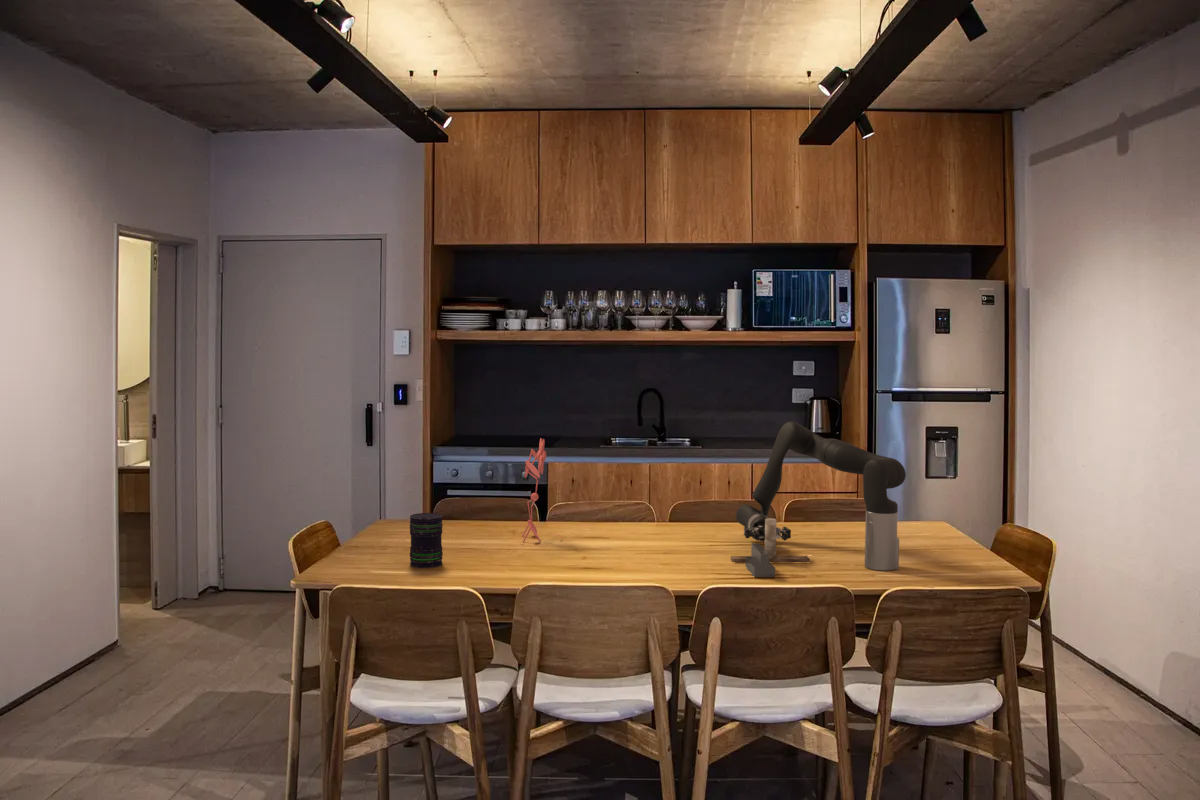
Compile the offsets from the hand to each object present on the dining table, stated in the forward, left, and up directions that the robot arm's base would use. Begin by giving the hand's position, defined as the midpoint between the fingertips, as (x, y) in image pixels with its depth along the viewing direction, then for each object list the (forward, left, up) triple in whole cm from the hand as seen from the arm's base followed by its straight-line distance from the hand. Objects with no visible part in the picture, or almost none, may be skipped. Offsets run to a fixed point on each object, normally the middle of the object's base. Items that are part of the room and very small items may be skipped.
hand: (771, 537), depth 285 cm
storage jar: (+106, +2, -8) cm, 106 cm away
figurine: (+72, -35, -8) cm, 80 cm away
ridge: (+6, +12, -8) cm, 15 cm away
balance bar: (0, -2, -8) cm, 9 cm away
